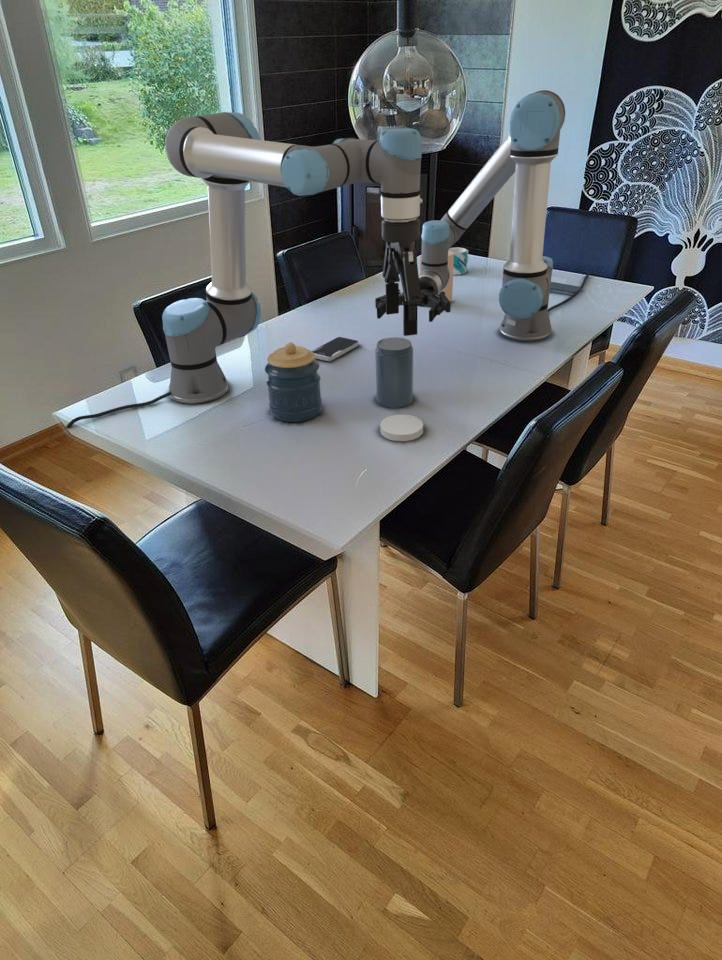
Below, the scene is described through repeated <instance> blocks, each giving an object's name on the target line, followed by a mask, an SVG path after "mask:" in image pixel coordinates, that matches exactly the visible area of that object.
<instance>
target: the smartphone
mask: <svg viewBox="0 0 722 960" xmlns="http://www.w3.org/2000/svg"><path fill="white" fill-rule="evenodd" d="M357 347H359V340H356V339H351V338H347V337H343V336H337V337H335V338H333V339H332V340H329V341H328V342H325V343H324V344H322V345H320V346H318V347H317V348H314V349H313V350H311V351H312V352H313V353H314V354H315V360H319V361H320V360H321V361H325V362H332V361H334V360H336V359H337V358H340V357H341V356H343V355H344V354H346V353H349V352H350V351H351V350H353V349H355V348H357Z"/></svg>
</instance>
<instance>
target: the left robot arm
mask: <svg viewBox="0 0 722 960" xmlns="http://www.w3.org/2000/svg"><path fill="white" fill-rule="evenodd" d="M421 145H422V144H421V133H420V132H419V131H418V129H415V128H411V127H409V128H408V127H404V128H401V127H400V128H398V127H397V128H395V127H394V128H387V129H383V130H381V132H380V134H379V140H378V139H377V140H375V139H363V138H355V137H347V138H338V139H337V138H336V140H334V141H333V142H332V143H329V144H325V145H316V146H310V145H302V144H294V143H285V142H279V141H278V142H277V141H272V140H271V141H270V140H263V139H261V137H260V133H259V131H258V129H257V127H255V126H254V123H253V121H252V120H251V119H250V118H249V117H247V116H246V115H245V114H243V113H240V112H237V111H236V112H231V111H229V112H227V111H222V112H217V113H210V114H203V115H196V116H186V117H183V118H181V119H178V120H177V121H175V122H174V123H173V124H172V125H171V126H170V128H169V129H168V131H167V134H166V136H165V141H164V148H165V155H166V157H167V160H168V161H169V163H170V164H171V166H172V168H174V170H176V171H177V172H178V173H180V174H182V175H183V176H186V177H190V178H198V179H201V180H202V181H203V182H204V184H205V185H207V198H208V199H207V202H208V225H209V226H208V227H209V248H210V249H209V250H210V272H211V282H210V283H209V284H208V285H207V286H206V288H205V293H206V300H205V299H203V298H199V297H190V298H187V299H180V300H177V301H175V302H173V303H171V304H170V305H168V306H166V308H164V310H163V312H162V316H161V318H162V330H163V333H164V337H165V342H166V345H167V352H168V356H169V361H170V367H171V369H170V370H171V371H170V377H169V386H168V392H166V393H164V394H162V395H159V396H158V397H155V398H154V399H152V400H148V401H145V402H139V403H132V404H125V405H122V406H118V407H114V408H111V409H107V410H105V411H101V412H98V413H94V414H93V413H92V414H87V415H80V416H77V417H75V418H73V419H71V420H70V421H69V422H68V423H67V425H66V426H65V429H70V428H71V427H72V426H73V425H74V424H75V423H77V422H79V421H82V420H87V419H95V418H100V417H103V416H106V415H109V414H112V413H115V412H119V411H122V410H127V409H133V408H140V407H146V406H151V405H153V404H155V403H157V402H159V401H161V400H163V399H165V398H168V397H170V398H171V400H173V401H175V402H177V403H180V404H188V405H189V404H190V405H196V404H197V405H198V404H204V403H208V402H212V401H214V400H217V399H219V398H221V397H223V396H224V395H225V394H227V392H228V391H229V383H228V379H227V378H226V375H225V374H224V372H223V370H222V368H221V366H220V363H219V362H218V358H217V353H216V348H217V347H220V346H223V345H224V344H226V343H229V342H232V341H233V340H237V339H238V338H240V339H241V338H243V337H245V336H248V334H250V333H252V332H254V331H255V330H256V329H257V328H258V327H259V324H260V323H261V318H262V307H261V304H260V302H258V297H257V296H256V294H255V293H254V291H252V290H253V289H252V287H251V286H250V285H249V284H247V279H246V277H247V275H246V273H247V272H246V267H247V266H246V262H247V261H246V260H247V259H246V187H247V186H248V185H249V184H250V183H251V182H253V183H258V184H264V185H271V186H275V187H276V186H277V187H282V188H286V189H287V190H288V191H290V192H291V193H292V194H293V195H295V196H300V197H301V196H302V197H303V196H314V195H316V194H319V193H323V192H325V191H329V190H333V189H337V188H342V187H345V186H350V185H355V184H358V183H366V184H367V183H368V184H377V185H379V184H380V216H381V218H382V220H381V238H382V240H383V241H385V250H384V251H385V252H384V259H383V267H382V278H384V283H385V295H386V313H385V314H386V315H396V314H397V315H398V314H399V313H400V312H399V311H400V310H399V309H400V306H399V290H400V286H399V285H400V284H399V282H400V283H401V287H402V293H403V294H404V299H405V301H403V302H402V305H401V306H402V307H403V309H402V311H403V312H402V313H403V314H402V315H403V316H402V317H403V318H402V319H403V325H402V329H403V330H402V331H403V332H402V333H403V336H404V337H408V336H417V335H418V307H419V306H418V304H419V303H421V302H422V299H421V292H420V283H419V267H418V251H417V250H413V249H412V243H413V242H416V241H418V240H419V239H420V238H421V237H420V236H421V220H420V219H419V217H420V215H421V204H423V201H424V200H423V198H421V168H422V165H421V164H422V157H423V156H422V155H423V154H422V147H421ZM412 297H414V298H412Z"/></svg>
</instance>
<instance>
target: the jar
mask: <svg viewBox="0 0 722 960" xmlns="http://www.w3.org/2000/svg"><path fill="white" fill-rule="evenodd" d="M375 393H376V395H375V396H376V403H377V404H378V405H380V406H382V407H384V408H389V409H391V408H392V409H398V408H399V409H400V408H404V407H406V406H409V405H410V404H412V403H413V401H414V347H413V344H412V341H411V340H409V339H407V338H404V337H399V336H397V337H396V336H395V337H393V336H391V337H386V338H382V339H380V340H378V341H377V343H376V348H375Z"/></svg>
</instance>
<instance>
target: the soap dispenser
mask: <svg viewBox="0 0 722 960" xmlns="http://www.w3.org/2000/svg"><path fill="white" fill-rule="evenodd" d="M421 256H422V255H419V265H418V266H419V267H418V275H419V276H420V275H421ZM453 264H454V253H448V269H449V272H450V278H449V281H448V283H447V285H446V287H445V288H444V289H442V291H441V292H445V296H446V297H447V298H448V300H449V301H450V302H451V303H452V302H453V287H454V275H453ZM441 292H440V293H441Z"/></svg>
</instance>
